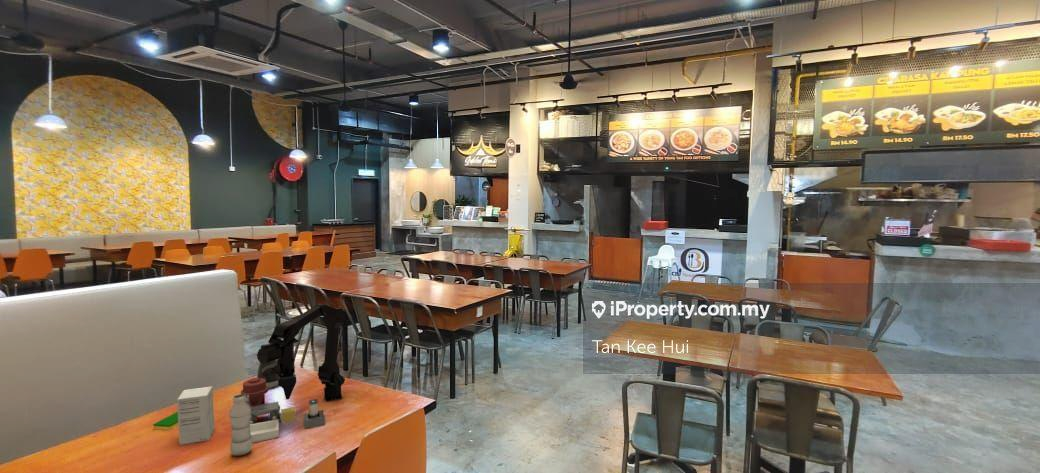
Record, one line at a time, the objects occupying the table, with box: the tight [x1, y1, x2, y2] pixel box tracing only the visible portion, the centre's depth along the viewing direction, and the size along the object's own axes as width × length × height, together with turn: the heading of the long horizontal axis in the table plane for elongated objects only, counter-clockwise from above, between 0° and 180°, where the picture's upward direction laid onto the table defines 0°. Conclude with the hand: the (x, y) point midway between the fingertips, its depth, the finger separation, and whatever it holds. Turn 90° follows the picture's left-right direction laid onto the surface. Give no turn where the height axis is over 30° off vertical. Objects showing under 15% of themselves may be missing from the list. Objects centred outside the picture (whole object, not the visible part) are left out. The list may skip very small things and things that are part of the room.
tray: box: [250, 419, 280, 444], centre depth 172 cm, size 12×10×3 cm
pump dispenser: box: [256, 360, 279, 389], centre depth 219 cm, size 10×10×15 cm
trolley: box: [246, 395, 281, 424], centre depth 184 cm, size 12×10×10 cm
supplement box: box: [176, 385, 215, 446], centre depth 171 cm, size 10×9×17 cm
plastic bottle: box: [228, 393, 254, 457], centre depth 159 cm, size 6×7×20 cm
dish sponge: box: [153, 411, 179, 431], centre depth 184 cm, size 7×14×2 cm, turn 173°
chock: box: [280, 406, 297, 424], centre depth 185 cm, size 5×4×4 cm
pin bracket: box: [302, 409, 326, 430], centre depth 182 cm, size 7×7×3 cm
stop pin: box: [308, 398, 319, 419], centre depth 181 cm, size 3×3×9 cm
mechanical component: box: [240, 377, 269, 407], centre depth 195 cm, size 12×10×10 cm
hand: (287, 394), depth 184 cm, fingers open, 9 cm apart
